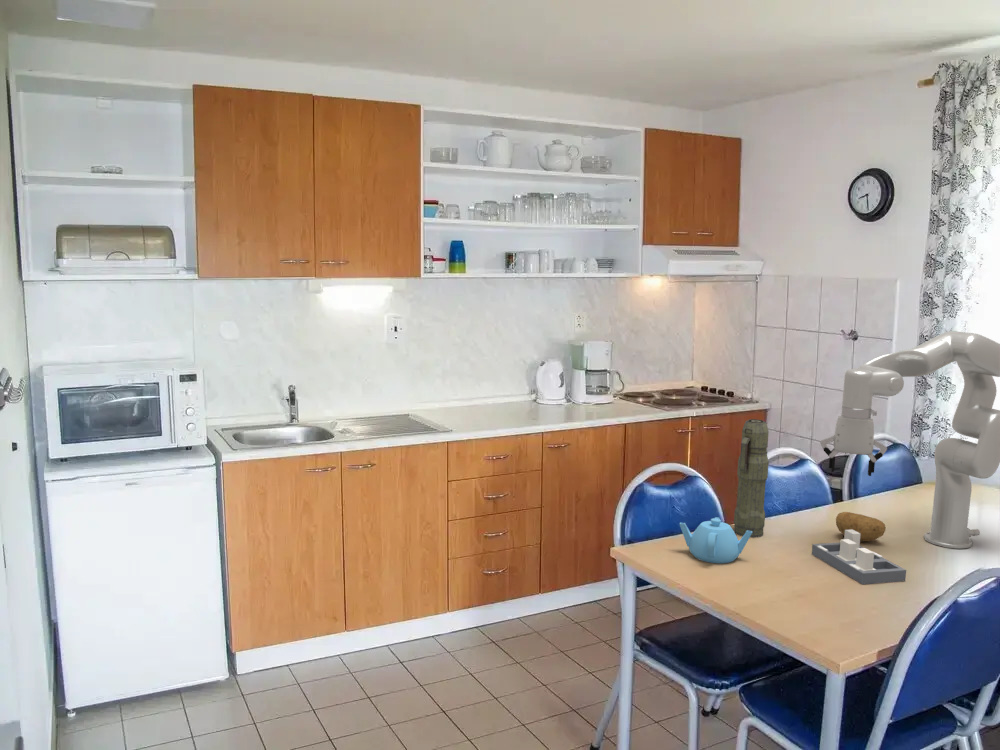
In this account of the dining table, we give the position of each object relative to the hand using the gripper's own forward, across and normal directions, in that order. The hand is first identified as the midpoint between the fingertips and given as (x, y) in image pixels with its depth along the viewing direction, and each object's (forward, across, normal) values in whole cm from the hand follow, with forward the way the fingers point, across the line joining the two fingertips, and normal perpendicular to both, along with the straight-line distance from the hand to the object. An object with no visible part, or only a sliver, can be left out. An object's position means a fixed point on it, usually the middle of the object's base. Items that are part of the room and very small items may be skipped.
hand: (850, 472), depth 230 cm
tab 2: (+23, 0, +12) cm, 26 cm away
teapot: (+24, +34, +17) cm, 45 cm away
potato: (+24, -5, -14) cm, 28 cm away
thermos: (+24, +27, -8) cm, 37 cm away
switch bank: (+24, -3, +10) cm, 26 cm away
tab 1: (+23, -2, +2) cm, 23 cm away
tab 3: (+23, -4, +17) cm, 29 cm away
